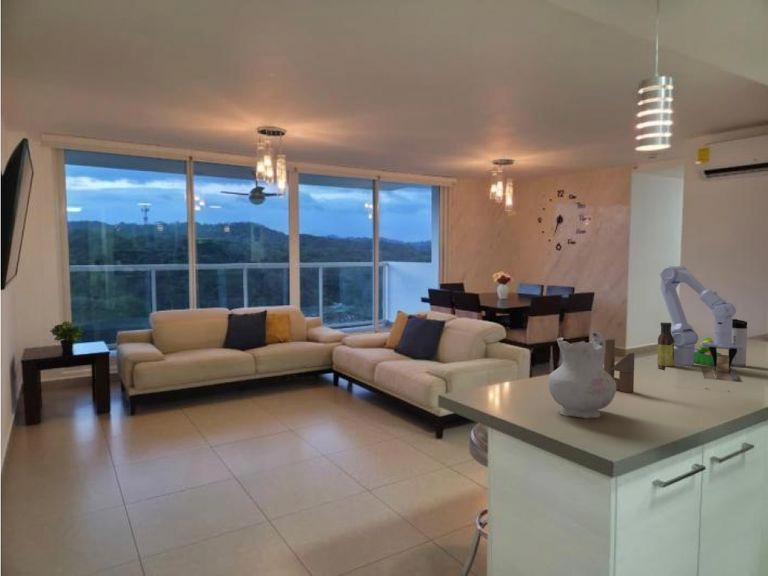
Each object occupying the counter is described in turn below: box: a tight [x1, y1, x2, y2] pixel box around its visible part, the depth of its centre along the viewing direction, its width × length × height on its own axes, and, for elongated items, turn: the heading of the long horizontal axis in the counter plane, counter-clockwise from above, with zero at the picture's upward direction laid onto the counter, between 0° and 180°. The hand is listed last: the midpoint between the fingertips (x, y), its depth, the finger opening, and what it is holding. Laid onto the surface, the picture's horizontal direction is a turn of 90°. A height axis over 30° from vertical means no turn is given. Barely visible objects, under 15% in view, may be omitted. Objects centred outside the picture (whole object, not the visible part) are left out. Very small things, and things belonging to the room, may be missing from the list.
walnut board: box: [700, 366, 743, 383], centre depth 197 cm, size 12×22×2 cm, turn 150°
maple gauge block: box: [713, 354, 729, 372], centre depth 203 cm, size 5×5×6 cm
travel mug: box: [730, 318, 748, 368], centre depth 218 cm, size 6×7×20 cm
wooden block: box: [603, 338, 635, 394], centre depth 181 cm, size 4×11×18 cm, turn 31°
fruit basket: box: [694, 337, 722, 366], centre depth 223 cm, size 11×9×11 cm
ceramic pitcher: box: [547, 330, 617, 420], centre depth 155 cm, size 22×20×25 cm
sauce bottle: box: [657, 321, 675, 370], centre depth 213 cm, size 6×6×20 cm
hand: (722, 366), depth 202 cm, fingers closed on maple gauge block, 4 cm apart
